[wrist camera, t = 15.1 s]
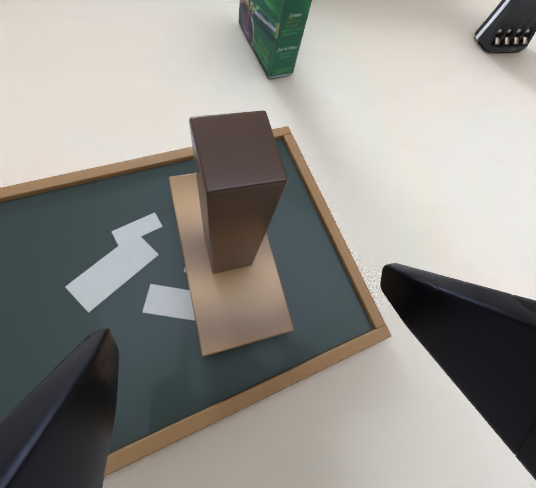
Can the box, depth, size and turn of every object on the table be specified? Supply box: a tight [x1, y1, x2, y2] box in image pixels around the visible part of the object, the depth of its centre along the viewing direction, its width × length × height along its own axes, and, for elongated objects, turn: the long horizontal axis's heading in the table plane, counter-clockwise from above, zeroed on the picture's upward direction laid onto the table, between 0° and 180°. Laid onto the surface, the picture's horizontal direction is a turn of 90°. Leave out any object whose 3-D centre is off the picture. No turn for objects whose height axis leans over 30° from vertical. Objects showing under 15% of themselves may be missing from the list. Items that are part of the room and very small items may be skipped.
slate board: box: [0, 126, 391, 476], centre depth 18 cm, size 28×18×1 cm, turn 112°
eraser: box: [169, 111, 294, 356], centre depth 14 cm, size 11×5×12 cm, turn 15°
